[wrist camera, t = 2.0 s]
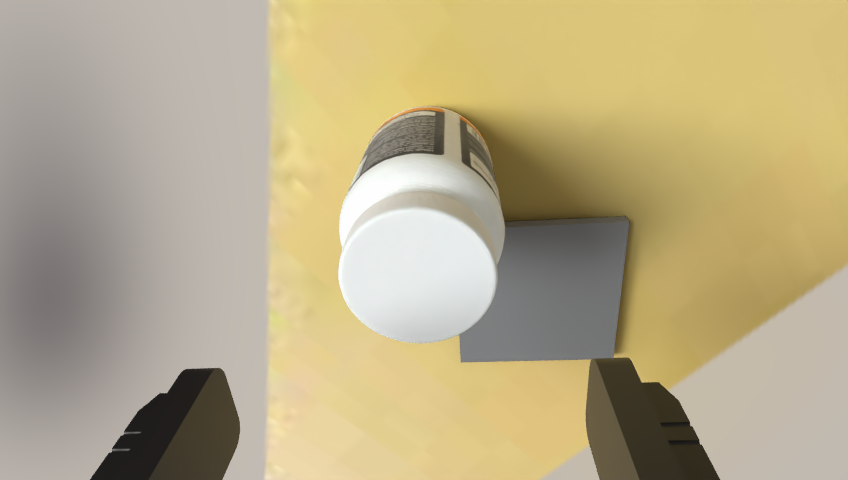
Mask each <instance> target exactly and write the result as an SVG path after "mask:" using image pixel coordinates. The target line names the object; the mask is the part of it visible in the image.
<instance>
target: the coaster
mask: <svg viewBox="0 0 848 480" xmlns="http://www.w3.org/2000/svg"><path fill="white" fill-rule="evenodd" d="M504 223H505V238H504V245H503V250H502V253H501V257H500V259H499V262H498V264H497V271H498V281H497V287H496V292H495V295H494V298H493V300H492V303H491V304H490V306H489V308H488V309H487V311H486V312H485V314H484V315H483V316H482V317H481V319H480V320H479V321H478V322H477V323H475V324H474V325H473V326H472V327H470V328H469V329H468V330H466V331H464V332H463V333H461V334H459V335H460V354H461V362H496V361H539V360H582V359H597V358H613V356H614V348H615V340H616V331H617V323H618V314H619V306H620V298H621V289H622V281H623V272H624V264H625V255H626V247H627V239H628V230H629V221H628V219H627V218H626V216H624V217H600V218H577V219H554V220H531V221H507V222H504Z"/></svg>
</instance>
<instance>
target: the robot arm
mask: <svg viewBox="0 0 848 480" xmlns="http://www.w3.org/2000/svg"><path fill="white" fill-rule="evenodd" d="M586 428H587V435H588V440H589V444H590V448H591V451H592V454H593V458H594V461H595V465H596V468H597V472H598V475H599V478H600V480H720V479H719V477H718V475H717V473H716V471H715V469H714V467H713V465H712V463H711V461H710V460H709V458H708V456H707V454H706V452H705V450H704V448H703V446H702V445H700V443H699V439H698V437H697V435H696V433H695V431H694V429H693V427H692V426H690V421H689V419H688V418H687V416H686V414H685V412H684V410H683V408H682V406H681V404H680V402H679V401H678V400H677V399H676V398H675V397H674V396H673V395H672V394H671V393H670V392H669V391H667V390H666V389H665V388H664V387H663V386H662V385H661V384H660V383H659V382H651V383H641V381H640V378H639V376H638V374H637V372H636V370H635V367H634V365H633V363H632V361H631V360H630V359H629V358H597V359H592V360H591V362H590V369H589V380H588V392H587V404H586ZM239 434H240V422H239V417H238V414H237V411H236V407H235V404H234V401H233V398H232V395H231V391H230V388H229V385H228V382H227V379H226V376H225V373H224V371H223V370H222V369H220V368H204V369H186V370H183V371H182V372H181V373H180V375H179V376H178V378H177V379H176V381H175V382H174V384H173V385H172V387H171V388H170V390H169V391H168V393H165V394H164V393H160V394H159V395H157V396H156V397H155V398H154V399H153V400H151V401H150V402H149V403H148V404H147V405H145V406H144V407H143V408H142V409H140V410H139V411H138V412H137V414H136V415H135V417H134V418H133V419H132V421H131V422H130V424H129V425H128V427H127V428H126V429H125V431H124V435H123V436H120V438H119V439H118V441H117V442H116V444H115V445H114V446H113V448H112V452H111V453H109V454H108V455H107V456H106V458H105V459H104V461H103V462H102V463H101V465H100V466H99V468H98V469H97V471H96V472H95V474H94V475H93V476H92V478H91V479H90V480H222V479H223V477H224V474H225V472H226V470H227V468H228V465H229V463H230V461H231V459H232V457H233V454H234V452H235V449H236V447H237V444H238V440H239Z"/></svg>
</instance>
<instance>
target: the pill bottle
mask: <svg viewBox="0 0 848 480" xmlns="http://www.w3.org/2000/svg"><path fill="white" fill-rule="evenodd" d="M339 231H340V240H341V245H342V253H341V257H340V261H339V283H340V288H341V291H342V294H343V297H344V299H345V301H346V303H347V305H348V307H349V308H350V309H351V311H352V312H353V313H354V315H355V316H356V317H357V318H358V319H359V320H360V321H361V322H363V324H365V325H366V326H367V327H369V328H370V329H372V330H373V331H375V332H377V333H379V334H381V335H383V336H386V337H388V338H391V339H394V340H397V341H402V342H408V343H432V342H438V341H443V340H446V339H449V338H452V337H454V336H457V335H459V334H461V333H463V332H464V331H466V330H468V329H469V328H470V327H472V326H473V325H474V324H475V323H477V322H478V321H479V320H480V319H481V317H482V316H483V315H484V314H485V312H486V311H487V309H488V308H489V306H490V304H491V303H492V300H493V298H494V295H495V292H496V287H497V281H498V271H497V264H498V262H499V259H500V257H501V253H502V250H503V245H504V238H505V223H504V217H503V213H502V208H501V203H500V197H499V191H498V188H497V183H496V179H495V174H494V169H493V164H492V160H491V156H490V152H489V149H488V147H487V145H486V143H485V141H484V139H483V137H482V135H481V134H480V133H479V131H478V130H477V129H476V128H475V126H474V125H472V124H471V123H470V122H469V121H468V120H467V119H465V118H464V117H462V116H461V115H459V114H458V113H455V112H453V111H451V110H448V109H445V108H440V107H434V106H421V107H414V108H410V109H406V110H404V111H401V112H399V113H397V114H395V115H393V116H392V117H391V118H389V119H388V120H387V121H385V122H384V123H383V124H382V125H381V126H380V127H379V128H378V130H377V131H376V132H375V134H374V135H373V137H372V138H371V140H370V142H369V144H368V146H367V148H366V151H365V153H364V156H363V159H362V161H361V163H360V166H359V167H358V170H357V172H356V174H355V177H354V179H353V181H352V184H351V186H350V188H349V191H348V193H347V195H346V198H345V200H344V203H343V206H342V209H341V215H340V223H339Z"/></svg>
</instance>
